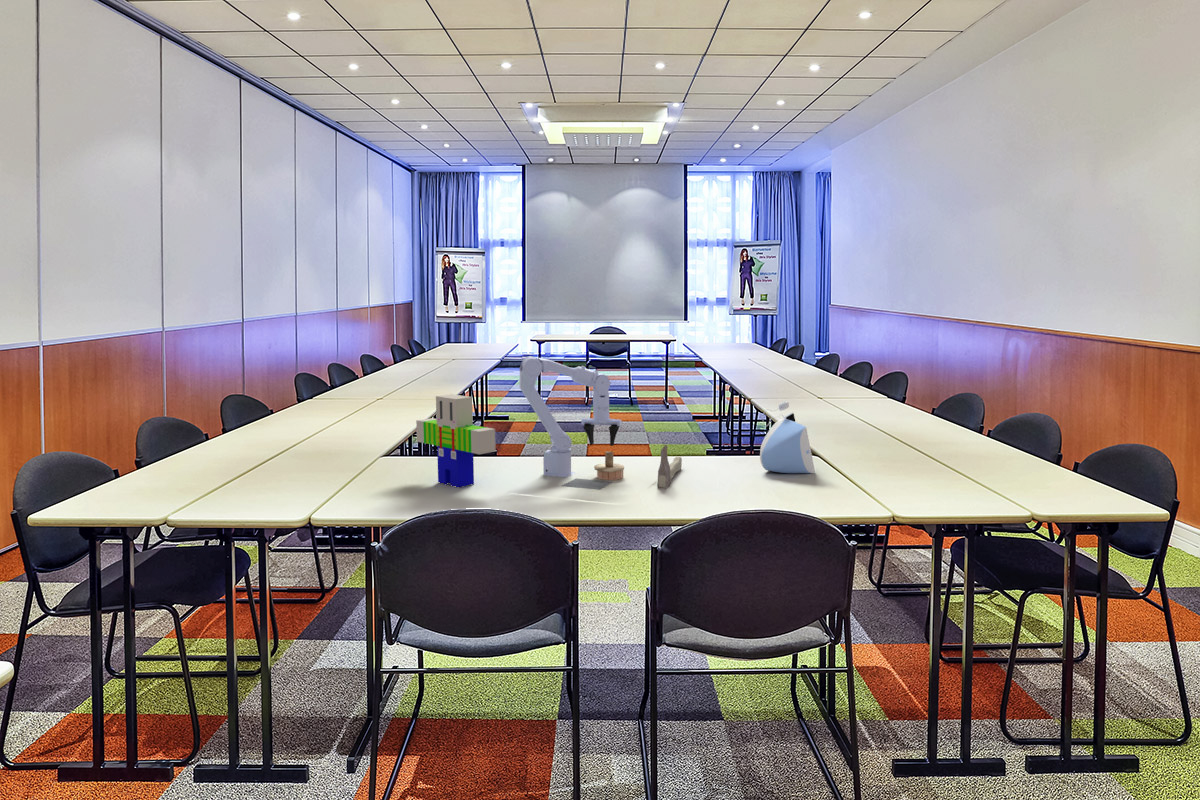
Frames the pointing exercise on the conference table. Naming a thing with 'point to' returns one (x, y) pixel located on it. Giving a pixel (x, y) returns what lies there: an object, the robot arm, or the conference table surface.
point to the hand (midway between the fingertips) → (601, 444)
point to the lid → (609, 464)
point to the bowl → (610, 475)
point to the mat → (587, 484)
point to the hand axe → (667, 469)
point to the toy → (455, 439)
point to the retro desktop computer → (786, 446)
